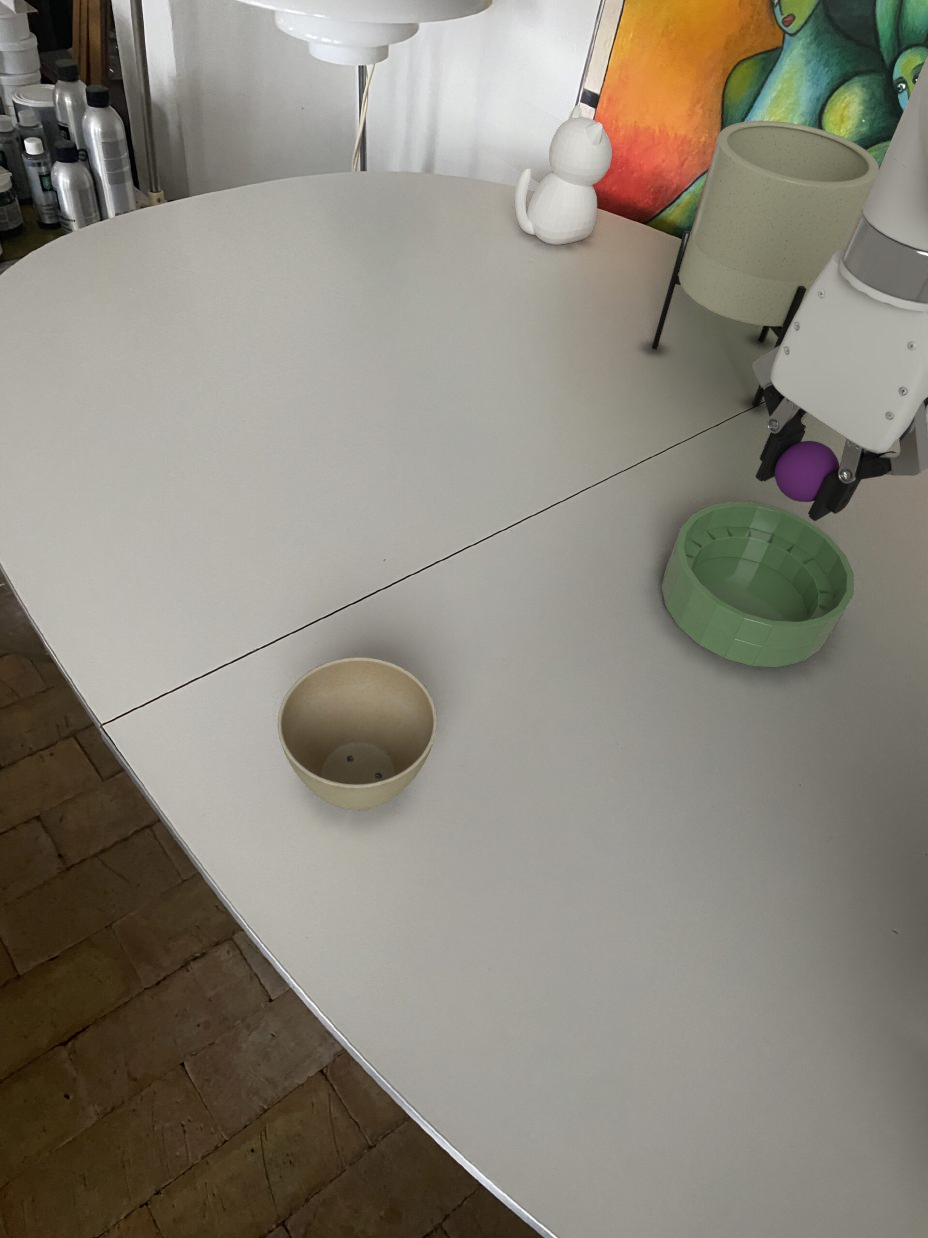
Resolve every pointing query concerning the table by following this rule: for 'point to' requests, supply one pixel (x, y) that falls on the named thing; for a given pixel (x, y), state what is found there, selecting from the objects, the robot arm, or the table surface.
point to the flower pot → (357, 730)
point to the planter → (769, 222)
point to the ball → (804, 470)
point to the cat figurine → (566, 183)
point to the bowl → (756, 583)
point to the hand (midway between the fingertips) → (797, 490)
